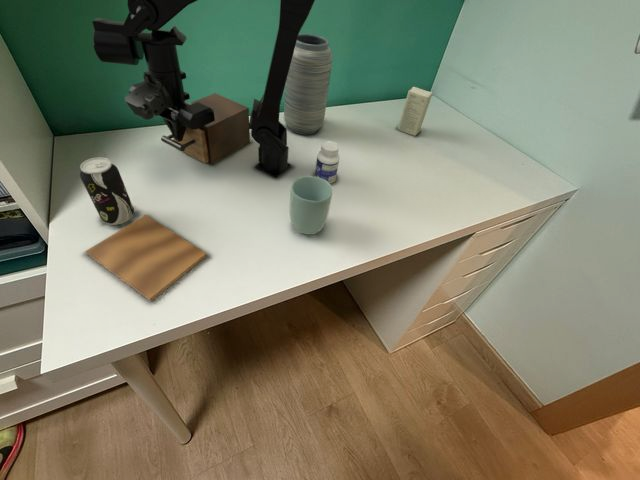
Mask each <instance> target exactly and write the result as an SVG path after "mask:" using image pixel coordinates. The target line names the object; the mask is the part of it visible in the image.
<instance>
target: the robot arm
mask: <svg viewBox="0 0 640 480" xmlns="http://www.w3.org/2000/svg"><path fill="white" fill-rule="evenodd" d="M197 1H198V0H127V8H128V14H127V16H126V18H125V20H124V21H116V20H109V19H106V18H101V17H96V18H95V19H93V20H92V26H93V34H92V35H93V36H92V37H93V49H94V52H95V54H96V56H97V58H98V59H99V61H101V62H102V63H109V64H116V65H117V64H121V65H129V66H130V65H131V66H138V65H139V63H140V60H141V61H142V60H143V59H145V63H146V68H147V71H144V72H143V76H142V77H143V81H141V82H136V83H134V84H131V85H130V87H129V89H128V94H127V95H126V96H125V97H124V101H125V103H126V104H127V106H128V107H129V109H130V110H131V111H132V113H133V114H134V115H136V116H139V117H140V118H142V119H144V120H146V121H147V120H151V119H153V118H154V117H161V118H162V120H163V121H164V123H165V125H166V126H167V128H168V129H169V131H170V133H171V134H172V135H173V136H174V138H175V140H176V141H178V142H180V141H182V140H183V137H184V134H185V131H186V128H187V127H188V128H190V129H192V130H196V129H198V128H200V127H202V126H205V125H207V124H209V123H211V122H213V121H215V117H214V110H213V109H211V108H210V107H208V106H206V105H204V104H201V103H199V102H196V103H194V104H191V102H189V101H188V100H190V99H191V97H190V93H188V92H186V91H185V89H184V83H183V80H185V79H187V73H186V72H185V71H183V70H181V65H180V61H179V54H178V50H177V46H179V47H180V46H181V47H182V46H183V45H184V44H185V42H186V41H187V36H186V35H185V34H184V33H183V32H181V31H180V30H179V29H178V27H177V26H176V25H173V26H172V27H171V29H170V30H166V29H162V28H163V26H165V25H166V24H167V23H169V22H170V21H171V20H173V19H174V18H175V17H176V16H178V14H179V13H181V12H182V11H183V10H185V8H187V6H189V5H191V4H194V3H195V2H197ZM279 1H280V2H279V3H280V4H279V20H278V26H277V31H276V36H275V40H274V45H273V48H272V49H273V50H272V54H271V59H270V63H269V68H268V72H267V77H266V82H265V86H264V91H263V94H262V97H261V99H260V100H258V99H257V98H253V102H252V110H251V113H250V114H249V129H250V137H251V138H252V139H253V140H254V142H255V143H257V144H258V145H259V146H258V147H257V152H258V153H257V155H258V156H257V157H258V158H257V159H258V163H257V164H255V165H254V167H255V169H257V170H259V171H261V172H263V173H265V174H267V175H269V176H271V177H273V178H278V177H279V176H281V175H282V174H284V173H285V172H287V170H289V169H291V167H292V164H291V163H289V150H290V149H289V148H290V147H289V146H288V131H287V130H288V129H287V128H286V126H284V125H283V124H282V122H280V110H281V107H280V106H281V102H282V99H283V95H284V93H285V84H286V80H287V76H288V72H289V68H290V65H291V61H292V57H293V53H294V49H295V45H296V41H297V37H298V34H300V32H301V30H302V28H303V26H304V25H305V24H306V22H307V19H308V18H309V15H310V12H311V11H312V8H313V5H314V4H315V2H316V0H279ZM145 30H147V31H149V32H144V31H145Z"/></svg>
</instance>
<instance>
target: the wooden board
mask: <svg viewBox="0 0 640 480" xmlns="http://www.w3.org/2000/svg"><path fill="white" fill-rule="evenodd" d="M85 254H86V255H87V256H89V257H90V258H91V259H92V260H94V261H95V262H97V264H99V265H100V266H102V267H103V268H104V269H106V270H107V271H109V272H110V273H111V274H112V275H114V276H116V277H117V278H118V279H119V280H121V282H123V283H125V284H126V285H128V286H129V287H131V289H133V290H134V291H136V292H137V293H138V294H140V295H141V296H142V297H143V298H145V299H146V300H148V301H149V302H153V301H154V300H155V299H156V298H157V297H159V296H160V295H161V294H162V293H164V292H165V291H166V290H167V289H168V288H170V287H171V286H172V285H173V284H175V283H176V282H177V281H178V280H179V279H181V278H182V277H183V276H184V275H186V274H187V273H188V272H189V271H191V270H193V268H194V267H195V266H197V265H198V264H199V263H200V262H202V261H203V260H204V259H205V258H206V257H208V254H207V253H206V251H203V250H202V249H201V248H198V247H197V246H196V245H194V244H192V243H191V242H189V241H188V240H186V239H184V238H183V237H181V236H180V235H178V234H177V233H175V232H173V231H172V230H170V229H168V228H167V227H165V225H162V224H161V223H159V222H157V221H156V220H155V219H153V218H152V217H150V216H148V215H146V214H144V215H143V216H141V217H140V218H138V219H136V220H135V221H133V222H131V223H130V224H128V225H126V226H124V227H123V228H121V229H119V230H118V231H117V232H115V233H113V234H112V235H110V236H108V237H107V238H105V239H104V240H102V241H100V242H99V243H97V244H95V245H93V246H92V247H90V248H89V249H87V250H85Z"/></svg>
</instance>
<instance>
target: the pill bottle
mask: <svg viewBox="0 0 640 480" xmlns="http://www.w3.org/2000/svg"><path fill="white" fill-rule="evenodd" d="M339 147H340V146H339V144H337V142H334V141H329V140H328V141H327V140H326V141H323V142H322V143H321V146H320V150H319V151H318V153H317V155H316V162H315V170H314V177H319V178H322V179H324V180H326V181H327V182H328V183H329V184H333V183H334V182H335V181H336V179H337V173H338V168H339V165H340V164H339V163H340V154H339V150H340V148H339Z"/></svg>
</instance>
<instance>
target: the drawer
mask: <svg viewBox="0 0 640 480" xmlns="http://www.w3.org/2000/svg"><path fill="white" fill-rule="evenodd" d="M160 141H161V142H163V143H164V144H167V145H169V146H170V147H172V148H174V149H176V150H178V151H179V152H184V153H185V154H187V155H189V156H191V157H193V158H194V159H196V160H198V161H200V162H202V163H203V164H207V163H209V162H208V161H209V158H208V156H209V150H208V143H207V136H206V129H204V128H201V127H200V128H198V129H196V130H192V129H190V128H188V127H187V128H186V131H185V134H184V137H183V140H182V141H180V142H178V141H176V140H175V138H174V136H173V135H172V133H171V134H169V135H167V136H166V135H162V136H161V137H160Z"/></svg>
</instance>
